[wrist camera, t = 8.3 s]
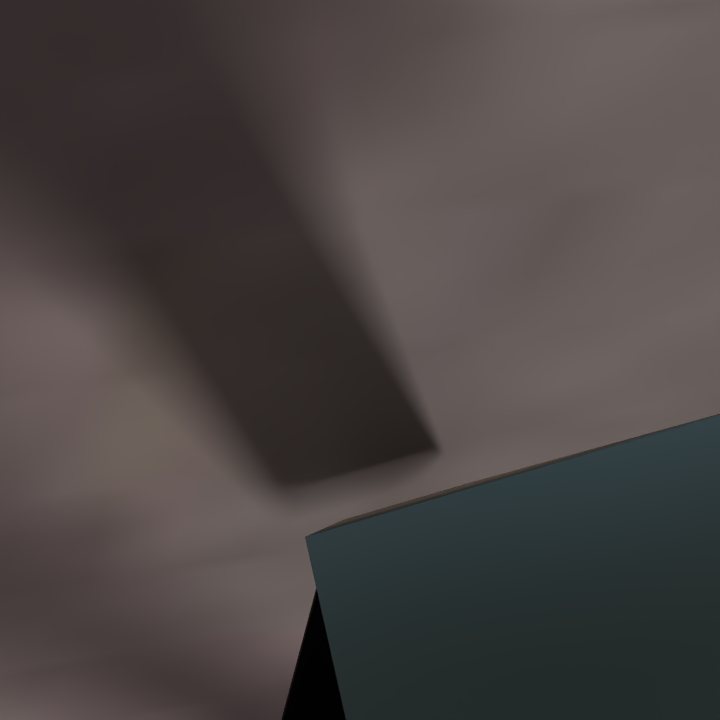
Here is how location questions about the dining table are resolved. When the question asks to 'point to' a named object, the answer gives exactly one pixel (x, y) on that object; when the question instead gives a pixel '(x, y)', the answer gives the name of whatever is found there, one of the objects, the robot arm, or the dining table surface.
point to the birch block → (537, 591)
